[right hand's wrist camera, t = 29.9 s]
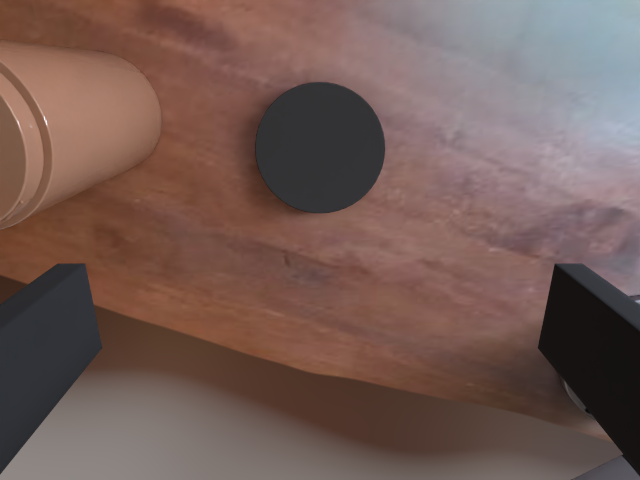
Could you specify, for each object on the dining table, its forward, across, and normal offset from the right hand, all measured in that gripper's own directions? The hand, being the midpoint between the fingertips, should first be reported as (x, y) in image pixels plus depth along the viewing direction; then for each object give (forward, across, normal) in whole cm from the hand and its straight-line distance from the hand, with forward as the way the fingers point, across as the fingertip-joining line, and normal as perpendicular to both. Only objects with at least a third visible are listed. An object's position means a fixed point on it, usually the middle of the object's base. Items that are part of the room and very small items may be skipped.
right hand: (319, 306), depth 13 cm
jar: (+29, +19, -3) cm, 35 cm away
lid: (+28, 0, 0) cm, 28 cm away
